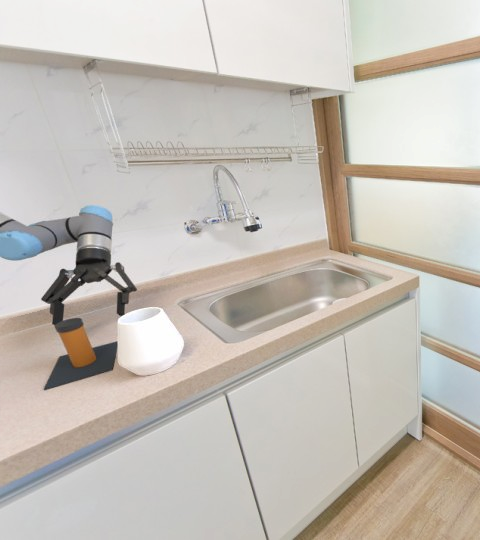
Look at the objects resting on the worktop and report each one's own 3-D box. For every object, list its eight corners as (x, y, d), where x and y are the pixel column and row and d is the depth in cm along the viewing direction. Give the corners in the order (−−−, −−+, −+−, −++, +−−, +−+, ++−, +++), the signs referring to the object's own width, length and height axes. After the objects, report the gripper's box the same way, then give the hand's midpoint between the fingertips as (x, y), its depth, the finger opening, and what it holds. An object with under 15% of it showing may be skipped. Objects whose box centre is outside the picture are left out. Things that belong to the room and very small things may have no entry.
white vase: (109, 375, 79) (89, 324, 74) (163, 345, 91) (148, 300, 86) (149, 386, 75) (130, 333, 70) (200, 353, 87) (187, 306, 82)
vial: (74, 361, 84) (56, 321, 81) (98, 354, 87) (83, 315, 83) (70, 370, 81) (52, 329, 77) (96, 363, 83) (79, 323, 79)
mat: (60, 357, 87) (59, 356, 87) (118, 342, 93) (117, 341, 93) (44, 390, 75) (43, 388, 75) (112, 370, 81) (112, 368, 81)
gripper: (149, 253, 105) (150, 315, 97) (47, 265, 96) (38, 334, 88) (139, 241, 99) (139, 306, 91) (29, 252, 90) (17, 325, 82)
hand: (89, 320), depth 90 cm, fingers open, 13 cm apart
